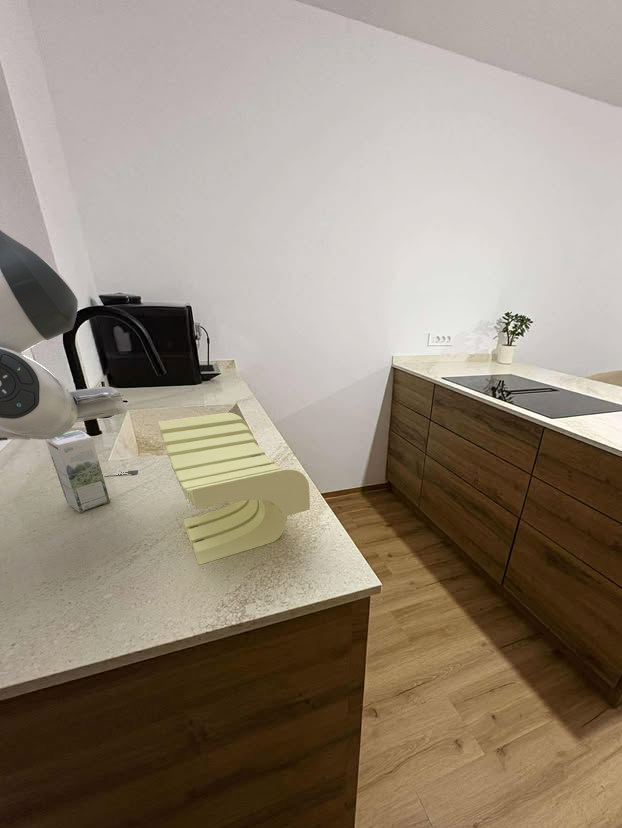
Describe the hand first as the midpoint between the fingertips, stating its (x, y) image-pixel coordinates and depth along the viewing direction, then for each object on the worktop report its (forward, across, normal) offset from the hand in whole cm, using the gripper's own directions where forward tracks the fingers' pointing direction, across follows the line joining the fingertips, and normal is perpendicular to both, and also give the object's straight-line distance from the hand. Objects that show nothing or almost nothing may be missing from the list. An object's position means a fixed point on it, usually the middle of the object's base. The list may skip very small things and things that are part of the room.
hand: (58, 419), depth 65 cm
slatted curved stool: (-8, -21, +27) cm, 35 cm away
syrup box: (+13, +2, +16) cm, 20 cm away
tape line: (+25, -2, +10) cm, 27 cm away
